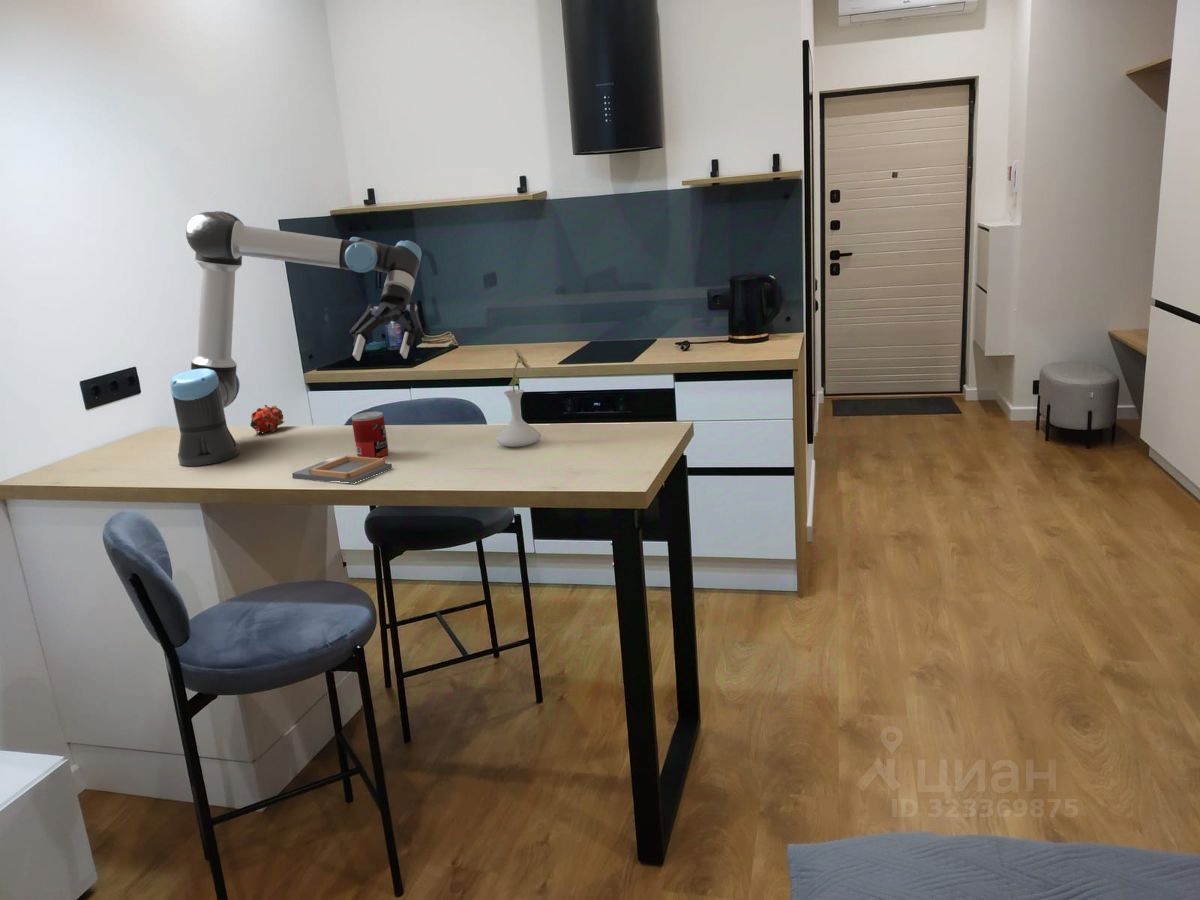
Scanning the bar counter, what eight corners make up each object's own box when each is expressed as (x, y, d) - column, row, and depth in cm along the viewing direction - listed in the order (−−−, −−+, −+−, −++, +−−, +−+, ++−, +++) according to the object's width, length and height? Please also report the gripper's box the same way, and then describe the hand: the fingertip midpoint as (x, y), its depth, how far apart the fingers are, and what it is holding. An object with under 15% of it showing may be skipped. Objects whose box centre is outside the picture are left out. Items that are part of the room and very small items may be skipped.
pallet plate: (292, 477, 224) (291, 468, 223) (332, 462, 235) (330, 453, 234) (353, 484, 214) (352, 474, 213) (392, 468, 225) (390, 459, 224)
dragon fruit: (288, 431, 282) (259, 447, 273) (267, 415, 284) (237, 430, 274) (294, 410, 277) (264, 426, 268) (273, 394, 279) (242, 409, 269)
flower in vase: (531, 450, 230) (521, 350, 224) (489, 450, 234) (478, 352, 228) (550, 436, 242) (541, 341, 236) (510, 436, 246) (500, 343, 239)
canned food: (381, 460, 233) (375, 418, 230) (352, 461, 235) (345, 419, 232) (394, 452, 240) (388, 410, 237) (365, 453, 242) (359, 411, 239)
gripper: (445, 297, 251) (429, 362, 241) (362, 302, 258) (343, 366, 248) (434, 279, 245) (417, 346, 235) (349, 285, 251) (329, 350, 241)
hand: (379, 356), depth 241 cm, fingers open, 13 cm apart
